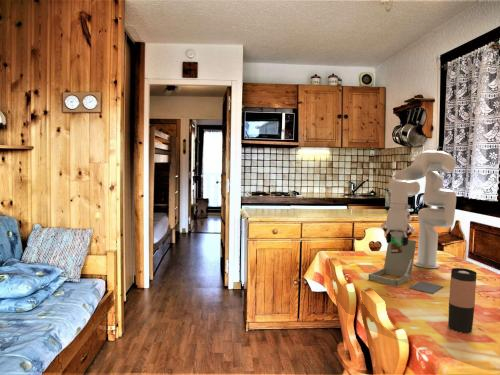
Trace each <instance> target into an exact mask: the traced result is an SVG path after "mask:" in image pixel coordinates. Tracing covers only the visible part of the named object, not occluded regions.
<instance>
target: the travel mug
mask: <svg viewBox="0 0 500 375" xmlns="http://www.w3.org/2000/svg"><path fill="white" fill-rule="evenodd" d="M477 276H478V275H477V272H476V271H475V270H472V269H469V268H462V267H454V268H451V271H450V284H449V298H448V324H447V325H448V326H447V327H448V328H449V330H451V329H452V330H451V331H453V330H454V332H456V331H457V332H456V333H460V332H462V333H461V334H470V332H471V333H472V332H473V326H474V325H473V324H474V315H475V308H476V307H475V305H476V289H477V288H476V287H477Z"/></svg>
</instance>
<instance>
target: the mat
mask: <svg viewBox="0 0 500 375" xmlns="http://www.w3.org/2000/svg"><path fill="white" fill-rule="evenodd" d="M443 288H444V286H443V285H440V284H439V285H438V284H436V283H430V282H426V281H423V280H422V281H421V280H420V281H419V282H417V283H415V284H413V285H411V286H409V288H408V289H410V290H414V291H418V292H422V293H427V294H429V295H434V294H435V293H436V292H439V291H440V290H441V289H443Z"/></svg>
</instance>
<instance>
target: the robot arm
mask: <svg viewBox="0 0 500 375" xmlns="http://www.w3.org/2000/svg"><path fill="white" fill-rule="evenodd" d="M455 168H456V159H455V158H454V157H453V155H451V154H449V153H448V152H445V151H443V150H439V151H438V150H426V151H421V152H419V154H418V155H417V156H416V157H415V159H414V160H413V162H412V163H411V164H410V166H406V167H405V168H402V169H400V170H398V171H397V172H395V173H394V174H393V175H392V177H391V178H390V180H389V181H388V185H387V190H388V192H389V193H390V204H389V205H390V206H389V209H388V212H387V215H386V220H385V221H384V222H383V223H382V224H381V225H380V226H381V228H382V230H383V232H384V233H385V241H386V243H387V244H388V243H389V242H391V231H392V230H394V231H401V232H403V234H404V237H403V246H406V245H407V244H408V240H409V238H410V236H412V235H413V234H414V233H415V232H416V229H415V228H414V227H413V225H411V214H410V210H409V209H410V208H411V205H410V204H409V203H408V202H409V201H408V200H409V199H408V198H409V196H416V195H418V194H419V193H420V189H421V185H420V183H419V182H418V181H417V180H420V179H424V178H425V185H424V193H423V203H424V204H425V205H426V206H430V207H424V208H421V209H420V210H419V211H418V214H417V220H418V245H417V260H414V261H413V265H415V266H417V267H419V268H425V269H438V268H440V264H439V263H437V259H438V258H437V256H438V243H439V242H438V240H439V234H438V231H437V229H436V228H444V229H448V228H452V226H453V225H454V220H455V213H456V206H457V205H456V204H457V195H456V192H455V191H454V190H452V189H444V188H443V186H444V185H443V183H444V180H443V177H442V175H441V174H440V173H451V172H454V170H455ZM431 206H432V207H440V208H442V209H440V208H431ZM443 208H444V209H443Z"/></svg>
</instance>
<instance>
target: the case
mask: <svg viewBox="0 0 500 375" xmlns="http://www.w3.org/2000/svg"><path fill="white" fill-rule="evenodd" d="M416 247H417V240H413V239H408V244H407V245H406V246H403V248H402V253H391V242H389V243H387V247H386V254H385V259H384V265H383V268H381V269H380V268H379V270H376V271H373V272H370V273H368V280H371V281H375V282H378V283H381V284H387V285H389V286H390V285H391V286H395V287H398V286H400V285H402V284H403V283H405V282H407V281H410V280H411V279H412V271H413V266H414V262H415V252H416ZM384 274H386V275H391V276H396V277H398V278H397V279H393V278H388V277H385V276H382V275H384Z"/></svg>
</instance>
